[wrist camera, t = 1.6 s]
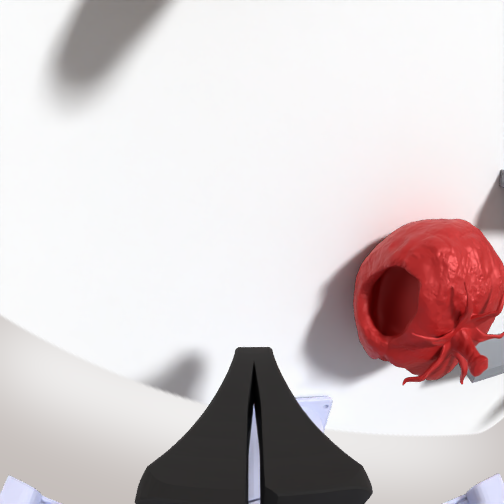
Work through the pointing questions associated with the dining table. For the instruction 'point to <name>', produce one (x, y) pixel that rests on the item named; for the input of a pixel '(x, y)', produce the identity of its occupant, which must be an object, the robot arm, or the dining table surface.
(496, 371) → the tray
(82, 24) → the dining table surface
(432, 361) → the pomegranate
